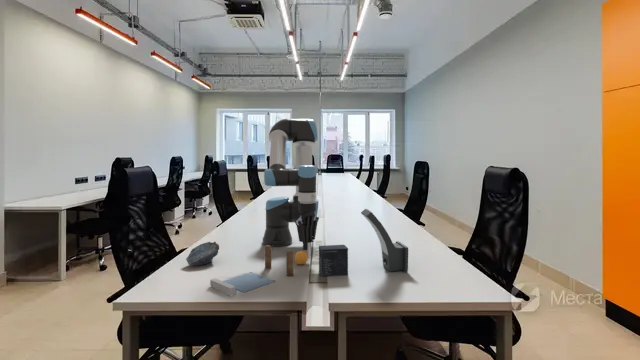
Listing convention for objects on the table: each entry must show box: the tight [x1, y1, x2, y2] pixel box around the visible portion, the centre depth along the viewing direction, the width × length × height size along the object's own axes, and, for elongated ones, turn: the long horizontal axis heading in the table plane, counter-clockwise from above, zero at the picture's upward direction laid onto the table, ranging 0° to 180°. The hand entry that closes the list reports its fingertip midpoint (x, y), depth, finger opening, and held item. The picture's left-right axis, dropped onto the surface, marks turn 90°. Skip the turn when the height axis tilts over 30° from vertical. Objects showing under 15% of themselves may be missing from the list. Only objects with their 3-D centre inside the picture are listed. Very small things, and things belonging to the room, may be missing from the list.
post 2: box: [285, 250, 294, 277], centre depth 138 cm, size 3×3×9 cm
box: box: [318, 244, 349, 277], centre depth 140 cm, size 11×7×10 cm, turn 100°
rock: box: [185, 241, 220, 266], centre depth 153 cm, size 16×8×10 cm
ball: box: [294, 250, 309, 265], centre depth 151 cm, size 6×6×6 cm
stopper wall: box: [209, 277, 237, 297], centre depth 123 cm, size 12×2×2 cm, turn 49°
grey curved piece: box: [360, 208, 409, 273], centre depth 145 cm, size 11×17×24 cm, turn 100°
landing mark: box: [222, 271, 276, 293], centre depth 131 cm, size 14×14×1 cm
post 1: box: [264, 245, 272, 270], centre depth 146 cm, size 3×3×9 cm
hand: (307, 257), depth 154 cm, fingers closed
